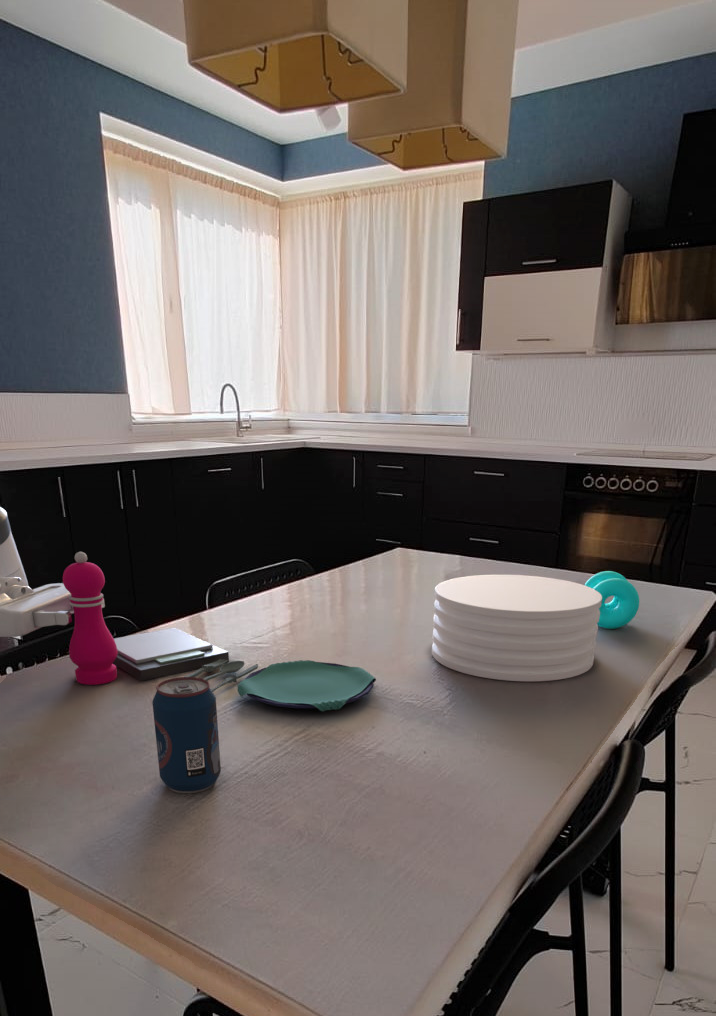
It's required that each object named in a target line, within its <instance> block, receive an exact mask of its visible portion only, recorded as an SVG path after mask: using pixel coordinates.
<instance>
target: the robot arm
mask: <svg viewBox="0 0 716 1016" xmlns="http://www.w3.org/2000/svg"><path fill="white" fill-rule="evenodd" d="M12 533H13V532H12V529H11V524H10V521H9V517H8V512H7V511H6V510H5V509H4V508H3V507H2V506H0V638H17V637H22V636H25V635H28V634H30V633H32V632H35V631H36V630H39V629H41V628H44V627H51V626H52V627H53V626H67V625H69V624H71V623H72V622H73V618H72V615H73V614H75V613H74V609H73V606H71V605H70V599H69V596H70V595H71V593H70V592H69V591H68V590H67V589H66V588H65V586H64V584H63V582H61V583H60V582H57V583H48V584H44V585H41V586H39V587H35V588H31V587H30V586H29V582H28V579H27V575H26V572H25V569H24V565H23V563H22V560H21V557H20V554H19V551H18V549H17V545H16V542H15V539H14V536H13V534H12ZM103 600H104V601H105V598H103ZM105 607H106V604H105V602H104V603H103V604H102V609H104V608H105Z"/></svg>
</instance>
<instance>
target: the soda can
mask: <svg viewBox="0 0 716 1016" xmlns="http://www.w3.org/2000/svg"><path fill="white" fill-rule="evenodd" d="M211 689H212V688H211V687H210V682H209V681H206V680H204V679H203V678H201V677H185V676H179V677H173V678H169V679H165V680H162V681H161V682H159V683H157V685H156V691H155V694H154V696H153V699H152V712H153V722H154V723H153V724H154V731H155V732H154V733H155V743H156V751H157V762H158V771H159V772H158V773H159V777H160V779H161V781H162V782H163V784H164V785H165V786H166V787H167V788H168V790H170V791H172V792H174V793H179V794H195V793H201V792H205V791H207V790H209V789H211V788H212V787H213V786H214V785H215V784H216V782H217V780H218V778H219V777H220V774H221V771H222V767H221V751H220V739H219V724H218V709H217V697H216V695H215V694H214V691H213V692H212V691H211Z"/></svg>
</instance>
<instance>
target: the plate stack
mask: <svg viewBox="0 0 716 1016" xmlns="http://www.w3.org/2000/svg"><path fill="white" fill-rule="evenodd" d="M434 598H435V601H434V603H433V612H434V615H433V621H432V623H433V624H432V626H433V630H432V644H431V654H432V657H433V659H434V660H435V661H436V662H438V663H439V664H440V665H442V666H444V667H446V668H448V669H451V670H453V671H456V672H459V673H461V674H465V675H470V676H473V677H478V678H483V679H490V680H497V681H498V680H499V681H507V682H508V681H509V682H548V681H549V682H550V681H558V680H563V679H570V678H573V677H578V676H580V675H583V674H585V673H587V672H588V671H589V670H591V669H592V668H593V665H594V660H595V655H594V653H595V651H596V646H597V640H596V639H597V636H598V630H599V626H598V625H597V623H598V622H599V617H600V610H599V608H600V607H601V603H602V595H601V594H600V593H599V592H598V591H596V590H594V589H592V588H590V587H587V586H585V584H581V583H578V582H574V581H570V580H565V579H559V578H553V577H545V576H537V575H525V574H523V575H522V574H479V575H478V574H477V575H467V576H460V577H454V578H450V579H446V580H444V581H441V582H439V583H438V584H437V585H435V587H434Z"/></svg>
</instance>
